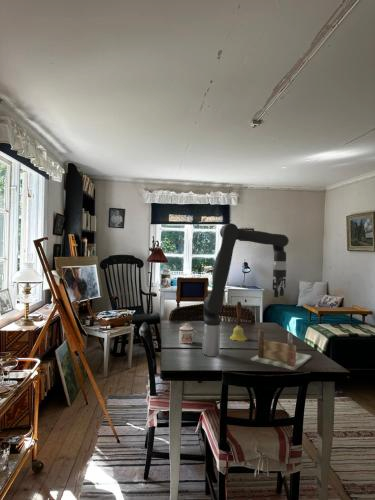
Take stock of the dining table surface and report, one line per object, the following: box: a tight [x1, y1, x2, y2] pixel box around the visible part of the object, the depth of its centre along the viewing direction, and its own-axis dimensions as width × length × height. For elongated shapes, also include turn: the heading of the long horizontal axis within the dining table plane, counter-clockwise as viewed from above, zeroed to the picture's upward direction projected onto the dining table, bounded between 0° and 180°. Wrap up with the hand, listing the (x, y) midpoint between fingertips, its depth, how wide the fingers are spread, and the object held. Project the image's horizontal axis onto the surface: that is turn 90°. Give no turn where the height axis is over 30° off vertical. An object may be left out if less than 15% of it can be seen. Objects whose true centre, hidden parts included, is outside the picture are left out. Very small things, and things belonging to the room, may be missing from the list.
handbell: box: [229, 301, 248, 342], centre depth 234 cm, size 12×12×25 cm
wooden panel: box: [263, 332, 297, 363], centre depth 186 cm, size 17×2×15 cm, turn 56°
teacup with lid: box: [178, 323, 199, 344], centre depth 222 cm, size 12×9×12 cm
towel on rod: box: [250, 328, 312, 371], centre depth 193 cm, size 24×28×16 cm
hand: (279, 296), depth 204 cm, fingers open, 8 cm apart
